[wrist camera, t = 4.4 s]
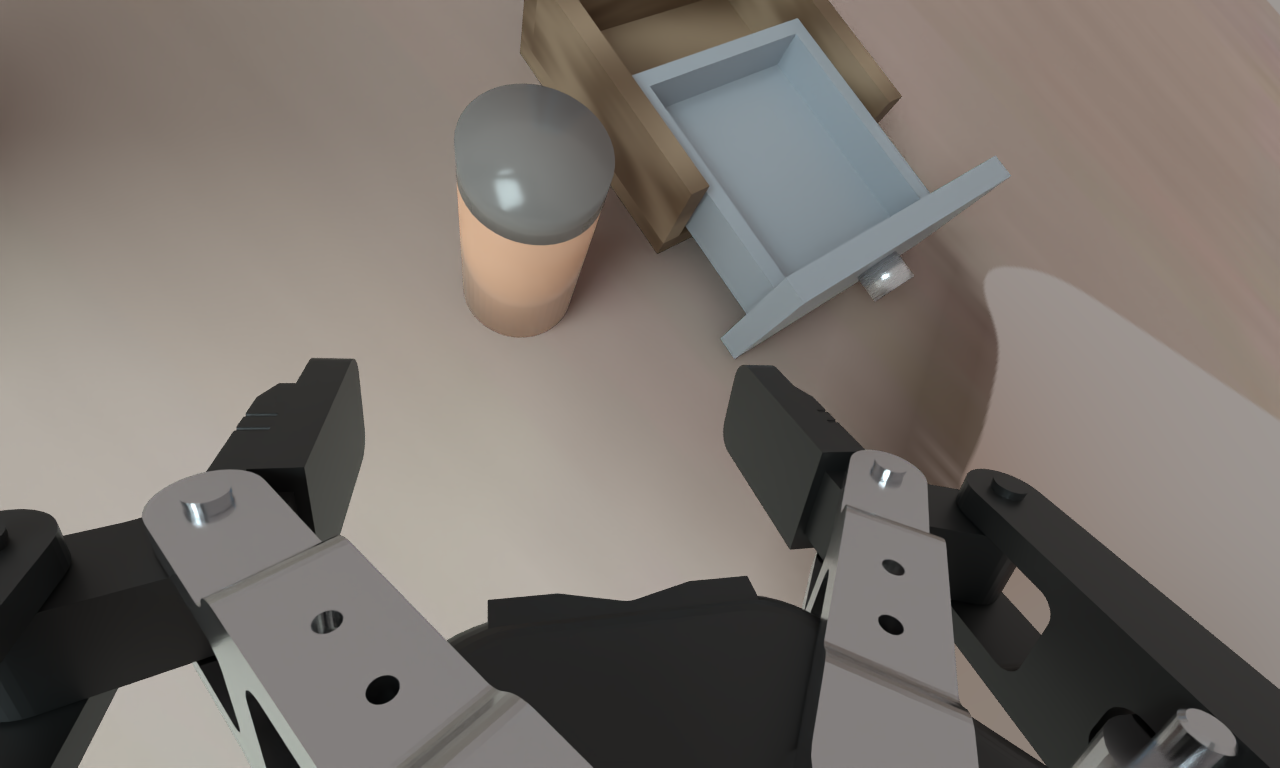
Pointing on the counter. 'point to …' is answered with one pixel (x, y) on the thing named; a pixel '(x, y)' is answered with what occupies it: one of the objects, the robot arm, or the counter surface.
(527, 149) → the spice jar
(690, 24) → the wooden drawer box
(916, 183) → the grey drawer
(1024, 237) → the counter surface
